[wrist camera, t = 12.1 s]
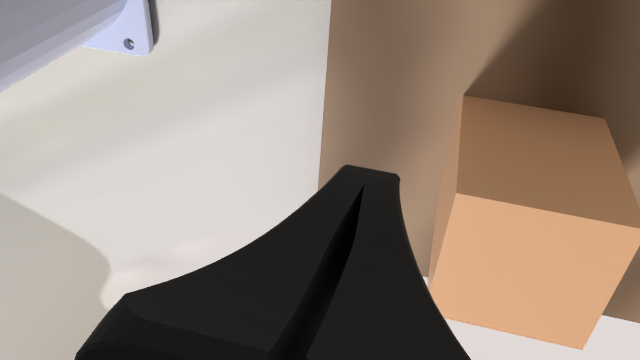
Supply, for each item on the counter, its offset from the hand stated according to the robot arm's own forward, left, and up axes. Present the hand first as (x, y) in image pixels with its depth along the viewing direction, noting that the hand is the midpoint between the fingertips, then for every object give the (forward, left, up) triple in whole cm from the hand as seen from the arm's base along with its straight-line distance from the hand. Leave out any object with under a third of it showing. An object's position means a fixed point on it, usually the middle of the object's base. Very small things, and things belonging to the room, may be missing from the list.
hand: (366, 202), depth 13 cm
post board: (+5, -4, -10) cm, 12 cm away
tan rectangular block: (+5, -4, -9) cm, 11 cm away
